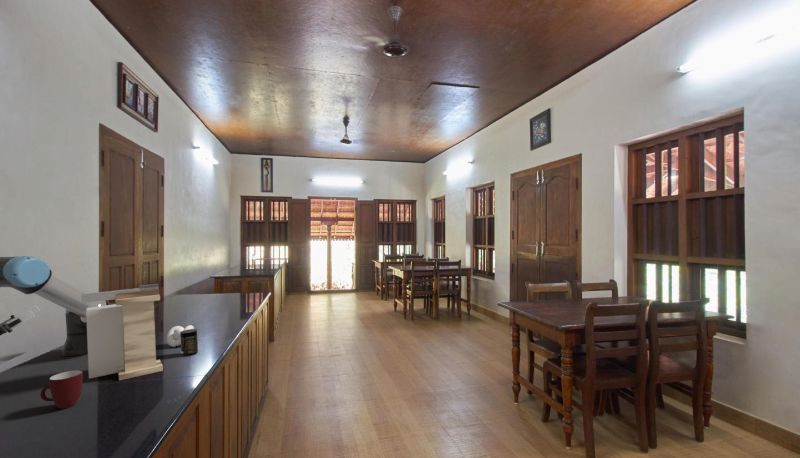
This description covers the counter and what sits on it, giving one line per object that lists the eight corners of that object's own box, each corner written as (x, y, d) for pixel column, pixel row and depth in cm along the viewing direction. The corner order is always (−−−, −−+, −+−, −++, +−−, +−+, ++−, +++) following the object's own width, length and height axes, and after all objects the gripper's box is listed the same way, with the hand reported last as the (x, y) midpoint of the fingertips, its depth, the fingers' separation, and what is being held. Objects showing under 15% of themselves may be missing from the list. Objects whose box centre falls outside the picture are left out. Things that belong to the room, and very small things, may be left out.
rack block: (89, 372, 152) (86, 307, 152) (123, 365, 158) (121, 303, 158) (88, 378, 145) (86, 310, 145) (124, 371, 152) (121, 306, 152)
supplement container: (201, 353, 172) (200, 330, 172) (186, 357, 166) (185, 333, 166) (193, 351, 176) (192, 328, 176) (178, 355, 170) (177, 332, 170)
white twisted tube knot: (200, 344, 186) (199, 325, 186) (172, 350, 178) (171, 331, 178) (191, 340, 194) (191, 322, 194) (165, 346, 185) (164, 327, 185)
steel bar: (81, 302, 141) (81, 291, 141) (158, 293, 156) (157, 283, 156) (81, 303, 139) (81, 292, 139) (159, 294, 154) (158, 284, 154)
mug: (35, 416, 115) (34, 383, 115) (45, 406, 122) (43, 375, 122) (80, 407, 120) (78, 376, 120) (86, 398, 127) (85, 368, 127)
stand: (118, 373, 150) (115, 292, 150) (159, 364, 159) (156, 287, 159) (119, 380, 142) (115, 295, 142) (162, 370, 151) (159, 290, 151)
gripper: (-23, 351, 135) (46, 313, 147) (-44, 370, 116) (38, 324, 127) (-39, 335, 133) (32, 297, 144) (-64, 351, 113) (21, 306, 125)
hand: (35, 310), depth 136 cm, fingers open, 13 cm apart
